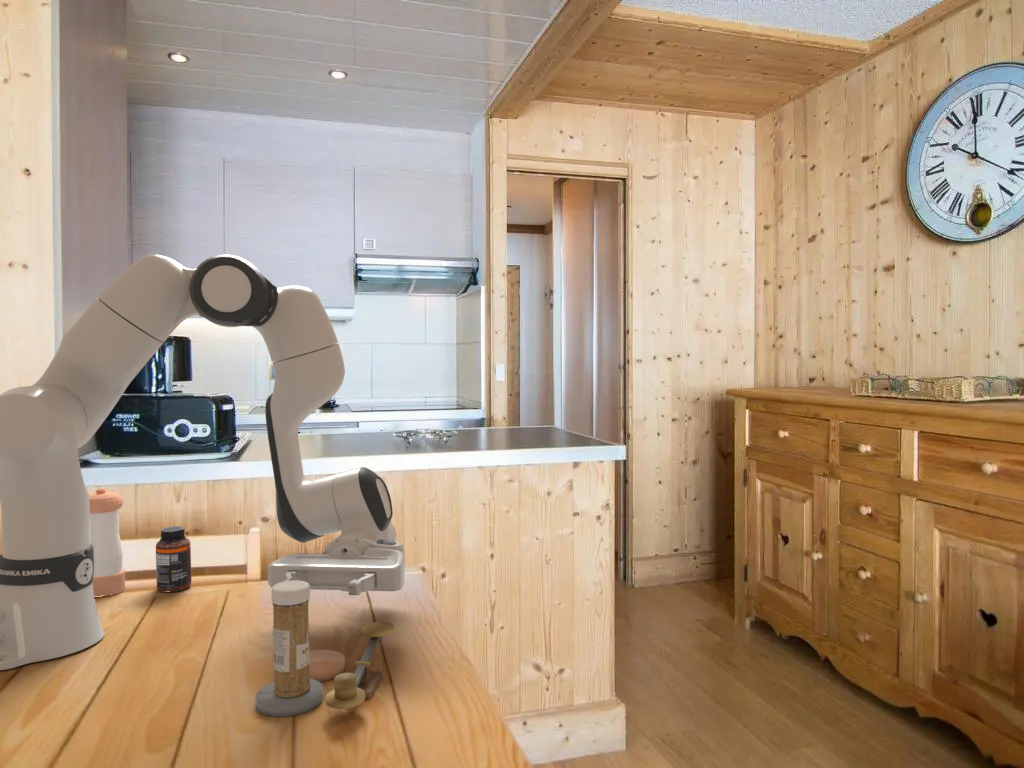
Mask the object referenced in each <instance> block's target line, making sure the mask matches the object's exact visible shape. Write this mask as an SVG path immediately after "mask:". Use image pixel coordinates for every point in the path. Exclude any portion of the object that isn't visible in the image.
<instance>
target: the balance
mask: <svg viewBox="0 0 1024 768" xmlns="http://www.w3.org/2000/svg"><path fill="white" fill-rule="evenodd" d="M394 632H395V625H394V624H393V623H391V622H390V621H389V622H387V621H372V622H368V623H365V624H363V625H362V626H361V627H360V634H361V635H362V636H364V637H367V638H370V639H369V641H368V643H367V645H366V647H365V649H364V652H363V653H362V656H361V658H360V660H359V661H357V660H356V661H355V662H354V663H355V665H354V669H355V671H353V672H343V673H341V674H339V675H337V676H335V678H333V679H334V680H333V681H334V689H333V690H331V691H329V692H327V694H326V696H325V703H326V705H327V706H328V707H330V708H332V709H338V710H339V709H340V710H344V709H345V710H347V709H351V708H354V707H358V706H359V705H361V704H362V703H364V701H366V699H371V698H372V696H373V694H374V692H375V691H376V689H377V687H378V686H379V684H380V683H381V681H382V679H383V671H381V670H380V671H375V670H373V671H372V670H371V658H372V657H373V654H374V652H375V650H376V648H377V645H378V643H379V641H380V639H381V638H383V637H387V636H389V635H392V634H393V633H394Z"/></svg>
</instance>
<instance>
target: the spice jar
mask: <svg viewBox="0 0 1024 768" xmlns="http://www.w3.org/2000/svg"><path fill="white" fill-rule="evenodd" d="M310 598H311V589H310V585H309V583H307V582H305V581H299V580H293V581H285V582H281V583H278V584H276V585H274V586H273V587H272V588H271V602H272V606H273V607H272V609H273V612H272V614H273V621H272V623H273V625H272V652H273V653H272V654H273V658H272V660H273V669H274V671H273V676H274V677H273V679H274V681H273V682H274V688H273V692H274V694H275V695H277V696H279V697H283V698H290V697H297V696H300V695H302V694H304V693H306V692H307V691H308V690H309V689H310V686H311V685H310V680H309V662H310V651H311V650H310V624H309V621H310V620H309V601H310Z"/></svg>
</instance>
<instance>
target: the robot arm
mask: <svg viewBox="0 0 1024 768" xmlns="http://www.w3.org/2000/svg"><path fill="white" fill-rule="evenodd" d="M193 316H199V317H202V318H204V319H206V320H207V321H208V322H211V323H213V324H214V325H217V326H220V327H225V328H238V327H253V328H254V329H256V330H257V331H258V332H259V334H260V335H261V336H262V338H263V340H264V343H265V345H266V348H267V350H268V354H269V357H270V361H271V362H272V366H273V371H274V387H273V391H272V393H271V394H269V396H268V397H267V399H266V401H265V407H264V408H265V411H264V412H265V423H266V433H267V439H268V447H269V453H270V459H271V460H270V461H271V465H272V472H273V478H274V486H275V506H276V508H275V509H276V516H277V517H276V518H277V522H278V526H279V528H280V530H281V531H282V532H283V533H284V534H285V535H287V536H288V537H290V538H291V539H293V540H295V541H297V542H300V543H303V544H305V543H308V542H310V541H314V540H315V539H319V538H323V537H324V536H326V535H330V534H335V533H338V532H341V533H340V534H339V535H338V536H337V537H336V538H334V539H332V541H330V542H329V543H328V544H327V545H326V546H325V548H324V550H323V552H322V553H313V552H312V553H311V552H310V553H308V552H307V553H305V552H304V553H303V552H301V553H300V552H299V553H290V554H288V555H284V556H282V557H280V558H277V559H276V560H273V561H272V562H270V563H269V565H268V566H267V582H268V586H269V587H270V588H271V589H272V587H273V586H274V585H276V584H278V583H281V582H285V581H293V580H299V581H305V582H307V583H309V585H310V590H316V591H317V590H321V591H325V590H326V591H342V592H347V593H348V595H349V596H360V595H361V594H362V593H365V592H369V591H371V592H397V591H400V590H402V588H403V587H404V585H405V569H406V568H405V567H406V564H405V563H406V561H405V559H406V558H405V549H404V543H402V542H399V541H398V540H397V531H396V528H395V526H394V523H393V522H392V518H393V505H392V499H391V495H390V492H389V490H388V487H387V485H386V482H385V481H384V480H383V478H382V477H380V475H378V474H377V473H376V472H374V471H373V470H371V469H369V468H368V467H364V466H362V467H357V468H353V469H349V470H346V471H342V472H338V473H335V474H331V475H328V476H324V477H320V478H316V479H312V480H309V479H307V478H306V477H305V475H304V469H303V468H304V467H303V462H302V454H301V449H300V448H301V447H300V444H299V443H300V441H299V430H300V427H301V425H302V424H303V422H304V420H306V419H307V418H308V417H309V416H310V415H311V414H312V413H314V412H315V411H316V410H318V409H319V408H321V407H322V406H323V405H325V404H326V403H327V402H329V401H330V400H331V399H332V398H333V397H334V396H335V395H336V394H337V392H338V391H339V390H340V388H341V386H342V384H343V382H344V379H345V374H346V371H345V370H346V369H345V363H344V358H343V357H344V356H343V354H342V350H341V347H340V344H339V340H338V338H337V335H336V332H335V330H334V327H333V324H332V323H331V320H330V318H329V316H328V313H327V311H326V309H325V307H324V306H323V303H322V302H321V300H320V297H319V296H318V294H316V292H315V291H314V290H313V289H311V288H309V287H305V286H301V285H287V286H283V287H277V286H276V284H274V283H273V281H271V280H270V279H269V278H268V277H267V276H266V275H264V274H263V273H262V272H261V270H259V268H257V267H256V266H255V265H254V264H253V263H252V262H250V261H248V260H247V259H245V258H243V257H241V256H238V255H233V254H219V255H214V256H210V257H208V258H207V259H205V260H204V261H202V262H200V264H199V265H197V267H196V268H189V267H185V266H184V265H182V264H181V263H179V262H177V261H176V260H174V259H173V258H171V257H168V256H164V255H162V254H161V255H160V254H147V255H145V256H142V257H140V258H139V259H138V260H136V261H135V262H134V263H133V264H131V265H129V267H127V268H126V269H125V270H124V271H122V273H120V274H119V275H118V276H117V277H116V278H115V279H114V280H113V281H112V282H111V283H110V284H108V286H107V287H106V288H104V290H103V291H102V292H101V294H99V295H98V297H97V298H96V299H95V300H94V301H93V302H92V303H91V304H90V306H89V307H88V308H87V309H86V311H85V312H84V313H83V314H82V315H81V316H80V317H79V319H78V320H77V321H76V322H75V323H74V324H73V325H72V326H71V328H70V329H69V330H68V331H67V332H66V333H65V334H64V336H63V337H62V339H61V341H60V345H59V348H58V349H57V351H56V353H55V354H54V357H53V358H52V360H51V361H50V363H49V365H48V366H47V368H46V370H45V371H44V372H43V374H42V375H41V377H40V378H39V379H38V380H37V381H36V382H35V383H34V384H32V385H28V386H27V385H26V386H19V387H14V388H11V389H9V390H6V391H5V392H3V393H1V394H0V518H1V519H0V521H1V523H0V524H1V552H2V553H1V554H0V671H5V670H6V671H7V670H10V669H14V668H17V667H20V666H23V665H27V664H32V663H37V662H43V661H47V660H51V659H52V660H53V659H58V658H61V657H65V656H68V655H71V654H74V653H77V652H80V651H83V650H85V649H86V648H89V647H91V646H93V645H94V644H97V643H98V642H99V641H101V640H102V639H103V637H104V635H105V631H104V629H103V626H102V622H101V621H100V618H99V617H100V616H99V613H98V608H97V605H96V598H94V592H93V583H92V581H93V574H94V550H93V545H91V544H90V503H89V494H90V493H89V491H88V489H87V488H86V485H85V482H84V477H83V474H82V469H81V464H80V459H79V458H80V457H79V449H80V448H81V447H84V446H85V445H87V443H88V442H89V441H90V440H91V439H92V438H93V436H94V435H95V434H96V433H97V431H98V430H99V429H100V427H101V426H102V425H103V423H104V422H105V421H106V419H107V418H108V417H109V415H110V414H111V412H112V410H113V409H114V408H115V406H116V405H117V403H118V402H119V401H120V399H121V398H122V396H123V395H124V393H125V392H126V389H127V388H128V387H129V385H130V384H131V382H133V380H134V379H135V378H136V376H138V374H139V373H140V372H141V370H142V369H144V367H145V366H146V365H147V363H148V362H149V361H150V360H151V358H152V357H153V356H154V355H155V353H157V352H158V350H159V349H160V348H161V346H163V344H164V342H166V341H167V339H168V338H169V337H170V335H171V334H172V333H173V332H174V331H175V329H177V328H178V326H180V325H181V323H183V322H184V321H185V320H187V319H188V318H190V317H193Z"/></svg>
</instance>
